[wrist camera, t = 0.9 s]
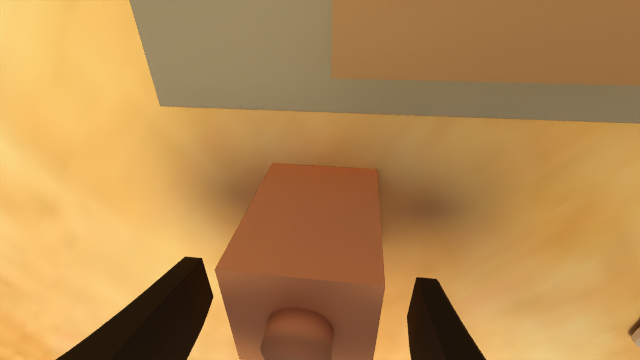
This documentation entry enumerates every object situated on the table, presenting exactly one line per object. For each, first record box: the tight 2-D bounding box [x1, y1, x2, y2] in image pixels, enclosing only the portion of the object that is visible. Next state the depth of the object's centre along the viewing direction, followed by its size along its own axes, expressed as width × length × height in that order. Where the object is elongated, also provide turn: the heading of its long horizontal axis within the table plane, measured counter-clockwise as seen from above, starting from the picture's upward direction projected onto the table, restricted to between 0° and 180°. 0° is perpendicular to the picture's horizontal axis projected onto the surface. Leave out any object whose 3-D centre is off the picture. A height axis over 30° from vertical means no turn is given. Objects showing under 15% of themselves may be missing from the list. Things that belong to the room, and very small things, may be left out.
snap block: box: [215, 163, 385, 360], centre depth 11 cm, size 4×4×7 cm
